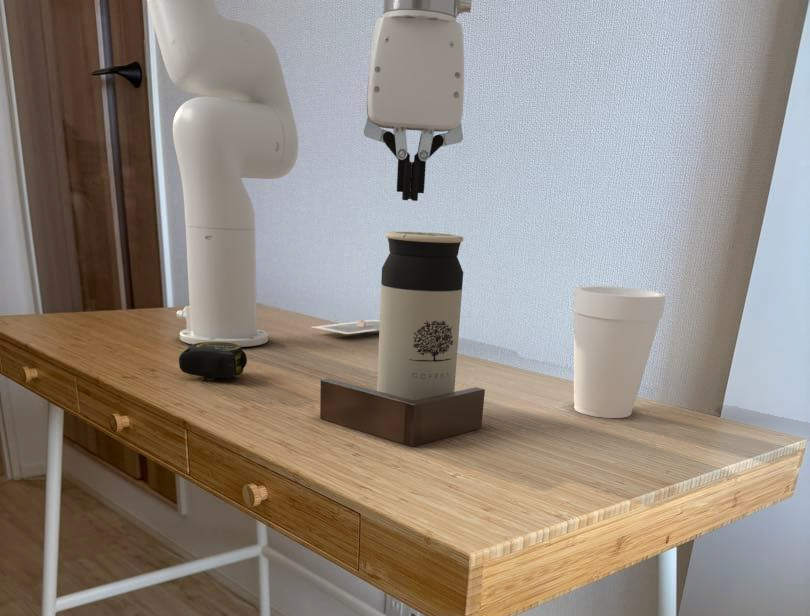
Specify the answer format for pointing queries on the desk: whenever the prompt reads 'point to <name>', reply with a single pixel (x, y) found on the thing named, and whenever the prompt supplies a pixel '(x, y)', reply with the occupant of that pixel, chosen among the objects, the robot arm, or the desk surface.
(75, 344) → the desk surface
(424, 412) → the corner guard
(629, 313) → the foam cup
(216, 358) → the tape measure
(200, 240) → the robot arm
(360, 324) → the touchpad
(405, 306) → the travel mug
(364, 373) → the desk surface
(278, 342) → the desk surface
